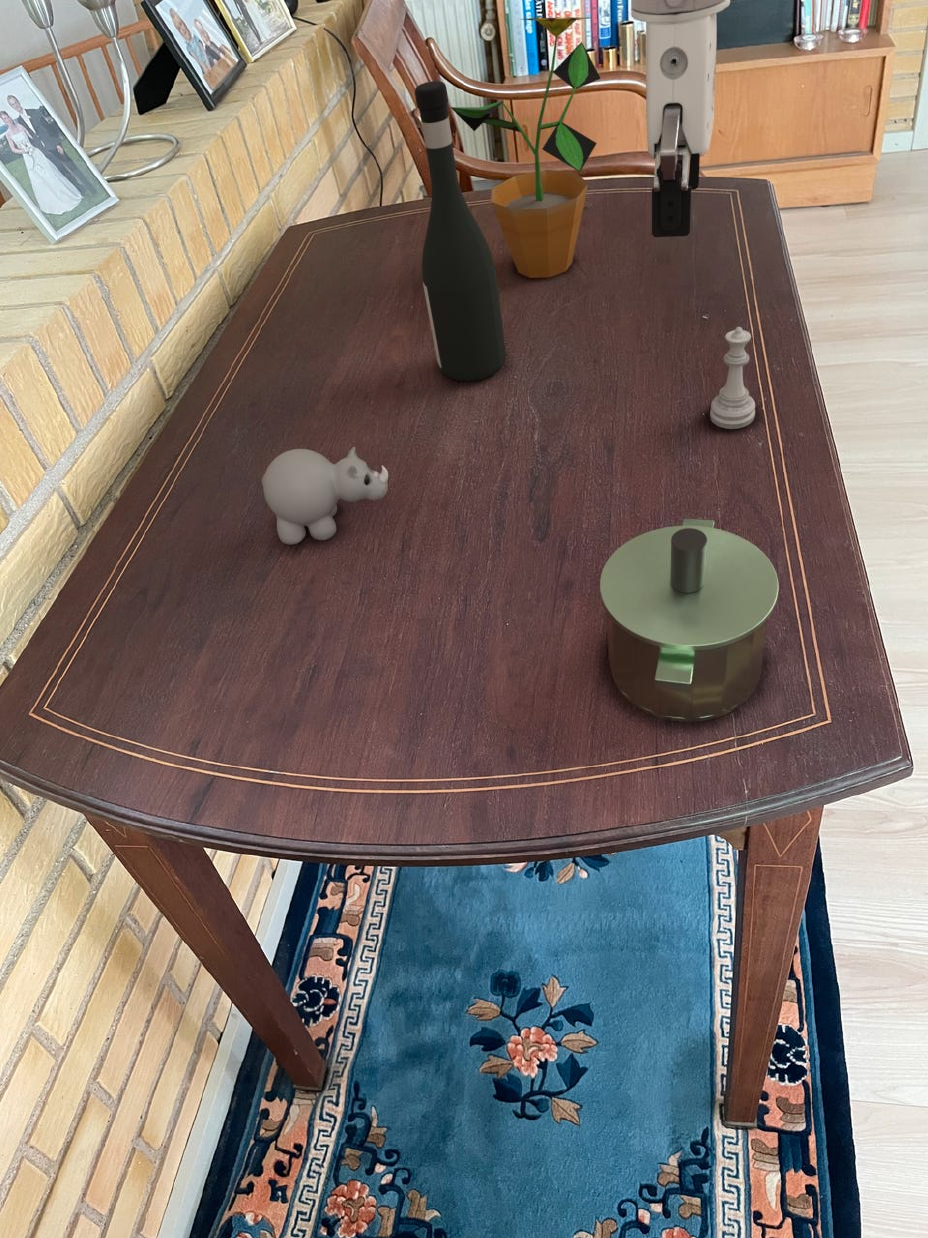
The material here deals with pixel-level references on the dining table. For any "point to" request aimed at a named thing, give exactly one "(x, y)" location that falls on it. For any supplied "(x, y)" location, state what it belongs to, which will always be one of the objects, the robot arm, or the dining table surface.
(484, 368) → the wine bottle
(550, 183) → the potted plant
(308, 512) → the toy rhinoceros
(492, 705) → the dining table surface
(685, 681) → the pot
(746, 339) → the chess piece
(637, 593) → the pot lid
